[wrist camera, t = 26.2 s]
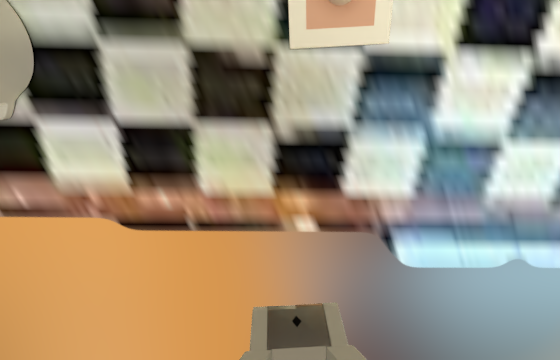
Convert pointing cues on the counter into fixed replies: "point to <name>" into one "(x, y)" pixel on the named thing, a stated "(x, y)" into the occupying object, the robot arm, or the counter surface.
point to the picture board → (338, 23)
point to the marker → (339, 2)
